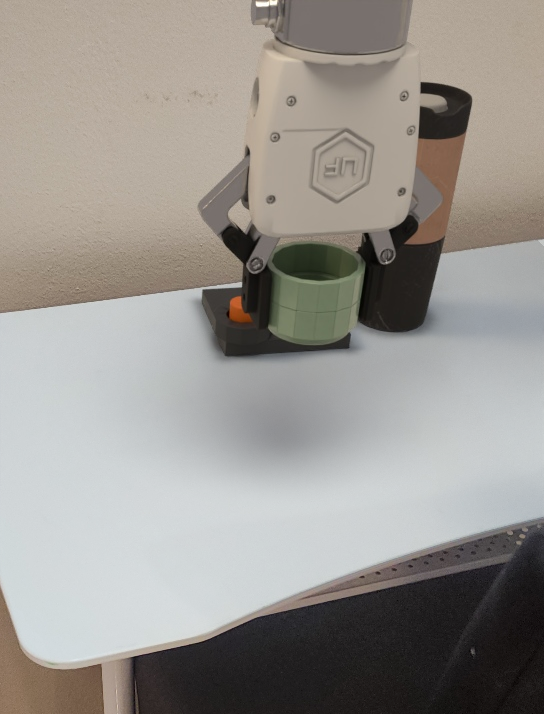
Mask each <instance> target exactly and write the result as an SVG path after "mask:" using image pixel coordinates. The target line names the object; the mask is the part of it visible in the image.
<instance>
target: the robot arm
mask: <svg viewBox="0 0 544 714" xmlns="http://www.w3.org/2000/svg"><path fill="white" fill-rule="evenodd" d="M413 2H414V0H251V2H250V21H251V24H252V26H264V27H265V28H268V29H269V28H270V31H271V32H272V33H273V38H270V39H267V40H265V41H264V42H263V44H262V47H261V50H260V54H259V58H258V63H257V66H256V69H255V70H256V72H255V74H254V75H255V76H254V79H253V80H254V81H253V85H252V90H251V94H250V95H251V96H250V100H249V107H248V111H247V118H246V125H245V132H244V140H243V147H242V148H243V149H242V157H241V161H239V162H238V164H237V165H236V166H234V168H232V169H231V170H230V171H229V172H228V173H227V174H226V175H225V176H224V177H223V178H222V179H221V180H220V181H219V182H218V183H217V184H216V185H215V186H214V187H212V189H211V190H210V191H209V192H208V193H206V194H205V195H204V196H203V197H202V198H201V199H200V200H199V201H198V203H197V211H198V213H199V215H200V217H201V219H202V221H203V222H204V223H205V224H206V225H207V226H208V227H209V228H210V230H211V231H213V233H214V234H215V235H216V237H218V238H219V239H220V240H221V242H222V243H223V244H224V246H225V247H226V248H227V249H228V250H229V251H230V252H231V253H232V254H233V255H234V257H236V259H238V260H239V261H240V262H241V263H242V276H241V287H242V292H241V305H242V309H243V311H244V313H249V315H250V317H251V319H252V321H253V323H254V325H255V327H256V329H257V331H258V330H265V329H266V328H268V325H269V313H270V301H271V289H272V273H271V272H270V270H269V268H268V267H267V264H268V260H269V258H270V256H271V255H272V253H273V251H274V249H275V247H276V246H278V244H279V241H280V239H282V238H283V239H286V238H289V239H290V238H308V237H325V236H338V235H351V234H352V235H353V234H361V236H362V235H363V238H364V241H365V242H364V243H363V246H362V247H361V246H358V247H357V250H356V251H355V252H356V253H358V254H360V255H361V257H362V258H363V259H364V261H365V262H366V266H365V273H364V280H363V287H362V293H361V300H360V307H359V314H358V317H359V319H360V320H362V321H363V322H371V321H372V319H373V313H374V307H375V303H379V302H380V300H381V294H382V288H383V282H384V276H385V270H386V264H389V263H391V262H392V261H393V260H394V258H395V255H396V251H397V250H398V249H399V248H400V247H401V246H402V245H403V244H404V243H405V242H407V241H408V240H409V239H410V238H411V237H412V236H413V235H414V234H415V233H416V232H417V230H418V226H419V225H420V224H421V223H423V222H424V221H425V220H426V219H427V218H428V217H429V216H430V215H431V214H432V213H433V212H434V211H435V210H436V209H437V208H438V207H439V206H440V205H441V203H442V201H443V195H442V194H441V193H440V191H439V190H438V189H437V188H436V187H435V186H434V185H433V184H432V182H431V181H430V180H429V179H428V178H427V177H426V176H425V175H424V173H423V172H422V171H421V170H420V169H419V168H418V167H417V166H416V157H417V145H418V132H419V114H420V82H421V55H420V54H421V52H420V48H418V47H417V46H415V45H414V44H412V43H410V42H409V41H408V36H409V31H410V30H409V28H410V22H411V15H412V10H413V9H412V8H413ZM239 201H240V202H241V204H242V206H243V208H245V209H246V210H248V212H249V217H250V221H249V223H248V224H247V226H246V228H245V230H243V229H241V228H240V227H239V225H238V224H237V223H236V222H235V221H233V220H232V218H231V217H230V216H229V212H230V210H231V209H232V208H233V207H234V206H235V205H237V203H238V202H239Z"/></svg>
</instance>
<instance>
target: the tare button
mask: <svg viewBox="0 0 544 714" xmlns="http://www.w3.org/2000/svg"><path fill="white" fill-rule="evenodd" d="M229 318H230V319H231V320H233V321H236V322H241V323H247V322H253V321H252V319H251V317H250V315H249V313H244V311H243V309H242V305H241V296H239V297H235V298H233V299H232V300H231V301H230V313H229Z"/></svg>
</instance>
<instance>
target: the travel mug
mask: <svg viewBox="0 0 544 714" xmlns="http://www.w3.org/2000/svg"><path fill="white" fill-rule="evenodd" d="M472 106H473V96H472V95H471V94H470V93H469V92H468V91H466V90H464V89H462V88H459V87H456V86H453V85H449V84H445V83H438V82H430V81H420V114H419V132H418V145H417V157H416V166H417V167H418V168H419V169H420V170H421V171H422V172H423V173H424V175H425V176H426V177H427V178H428V179H429V180H430V181H431V182H432V184H433V185H434V186H435V187H436V188H437V189H438V190H439V191H440V193H441V194H442V195H443V201H442V203H441V205H440V206H439V207H438V208H437V209H436V210H435V211H434V212H433V213H432V214H431V215H430V216H429V217H428V218H427V219H426V220H425V221H424V222H423V223H421V224H420V225H419V226H418V230H417V232H416V233H415V234H414V235H413V236H412V237H411V238H410V239H409V240H408V241H407V242H405V243H404V244H403V245H402V246H401V247H400V248H399V249H398V250H397V251H396V255H395V258H394V260H393V261H392V262H391V263H389V264H386V270H385V276H384V282H383V288H382V294H381V300H380V302H379V303H375V307H374V313H373V319H372V321H371V322H363V321H362V320H360V319H359V317H358V320H357V322H360V323H361V324H363V325H364V326H366V327H369V328H371V329H375V330H379V331H383V332H393V333H394V332H395V333H396V332H397V333H398V332H408V331H412V330H415V329H417V328H419V327H420V326H422V325H423V323H424V322H425V319H426V316H427V312H428V308H429V304H430V301H431V296H432V294H433V288H434V284H435V280H436V275H437V272H438V268H439V264H440V261H441V255H442V252H443V247H444V243H445V239H446V234H447V230H448V226H449V224H448V223H449V220H450V215H451V210H452V205H453V201H454V196H455V190H456V187H457V186H456V185H457V180H458V176H459V171H460V166H461V161H462V155H463V152H464V146H465V141H466V137H467V131H468V127H469V123H470V117H471V111H472ZM364 242H365V241H364V238H363V235H362V234H361V242H360V247H362V246H363V243H364Z"/></svg>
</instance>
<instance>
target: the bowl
mask: <svg viewBox="0 0 544 714" xmlns="http://www.w3.org/2000/svg"><path fill="white" fill-rule="evenodd" d="M365 266H366V262H365V261H364V259H363V258H362V257H361V255H360V254H358V253H356V251H355V250H353V249H351V248H349V247H347V246H344V245H340V244H337V243H334V242H329V241H319V240H299V241H298V240H297V241H290V242H286V243H283V244H280V245H276V247H275V249H274V251H273V253H272V255H271V256H270V258H269V260H268V264H267V267H268V268H269V270H270V272H271V273H272V289H271V301H270V313H269V325H268V328H269V330H270V331H271V332H272V333H273V334H274V335H276V336H277V337H279V338H281V339H283V340H286V341H289V342H292V343H297V344H303V345H323V344H329V343H333V342H336V341H338V340H340V339H342V338H344V337H345V336H346V335H347V334H348V333H349V332H350V333H351V332H352V330H353V329H355V328H356V327H357V326H358V314H359V307H360V300H361V293H362V287H363V280H364V273H365Z"/></svg>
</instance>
